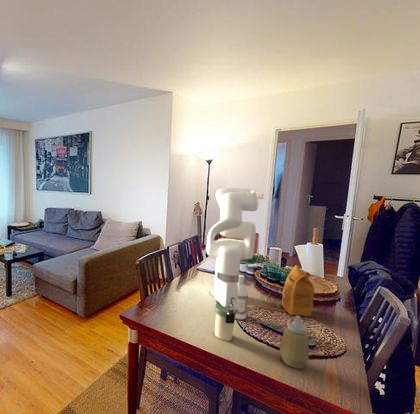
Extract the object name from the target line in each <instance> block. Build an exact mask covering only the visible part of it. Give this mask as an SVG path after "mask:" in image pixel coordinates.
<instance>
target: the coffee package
mask: <svg viewBox="0 0 420 414" xmlns="http://www.w3.org/2000/svg"><path fill="white" fill-rule="evenodd" d="M309 276H311V273H310V272H308V271H305V270H302V269H301V267H300V266H299V265H298V264H295V265H294V267H293V268H292V269H291V271H290V272H289V274H287V277H286V279H285V283H284V285H283V290H282V299H281V307H283V309H284V311H285V312H287V314H289V315H291V316H303V317H312V311H313V307H314V295H315V286H314V285H313V283H312V281H311V280H310V278H309Z"/></svg>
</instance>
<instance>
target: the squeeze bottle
mask: <svg viewBox="0 0 420 414" xmlns="http://www.w3.org/2000/svg"><path fill="white" fill-rule="evenodd" d="M306 331H307V328H306V327H305V326H304V325H302V318H301V315H295V317H294V319H293V321H292V322H288V324H287V327H285V328H284V329H283V334H282V338H281V340H280V341H281V342H280V345H279V348H278V349H279V353H280V356H281V359H282V362H283V363H284V364H286V365H287V366H289V367H291V368H294V369H303V368H304V367H305V365H306V364H307V363H308V361H309V359H310V351H309V350H310V348H309V347H310V346H309V345H310V344H309V343H310V342H309V341H310V340H309V335H308V334H307V333H306Z"/></svg>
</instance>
